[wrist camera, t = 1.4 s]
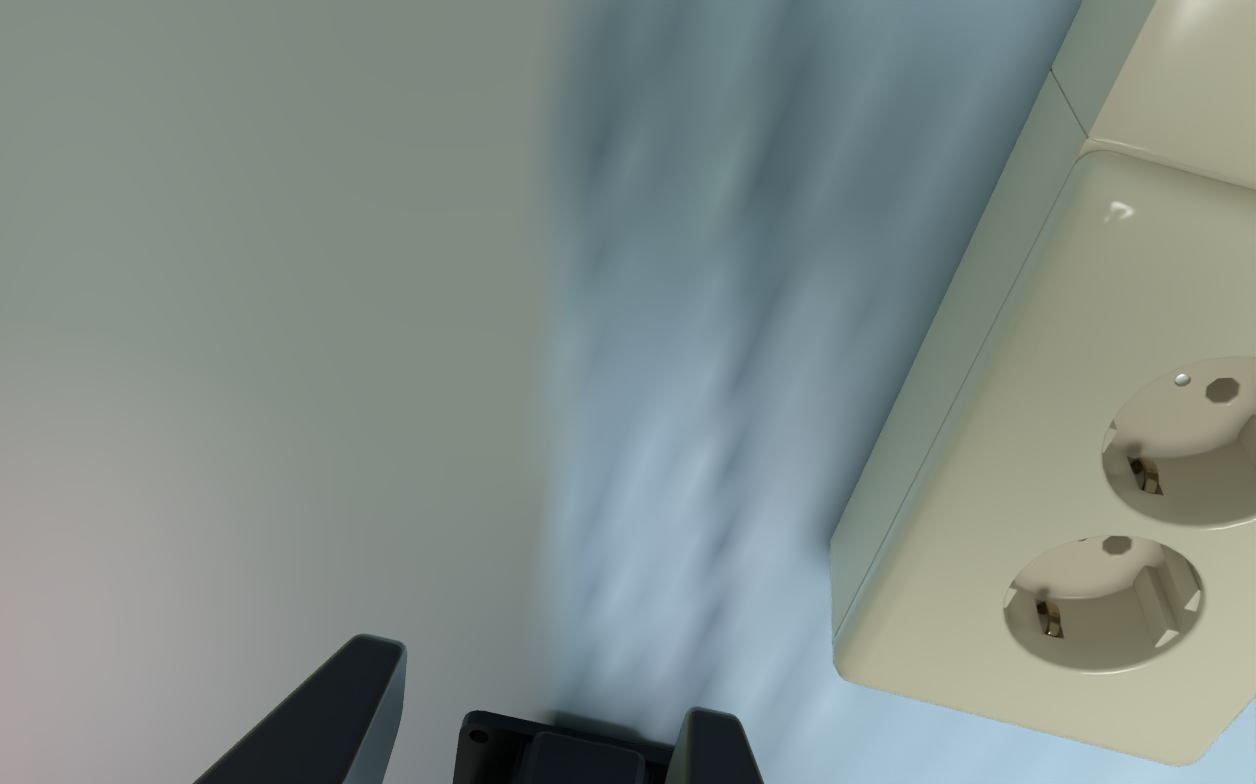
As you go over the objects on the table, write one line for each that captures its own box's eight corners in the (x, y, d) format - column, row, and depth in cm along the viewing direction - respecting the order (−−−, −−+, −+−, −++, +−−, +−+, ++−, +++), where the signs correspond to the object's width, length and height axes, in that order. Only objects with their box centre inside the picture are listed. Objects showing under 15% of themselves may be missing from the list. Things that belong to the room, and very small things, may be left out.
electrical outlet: (2194, -325, 10) (1195, 783, 21) (1859, -341, 14) (1141, 622, 24) (1469, -538, 10) (827, 688, 21) (1306, -503, 14) (824, 540, 24)
